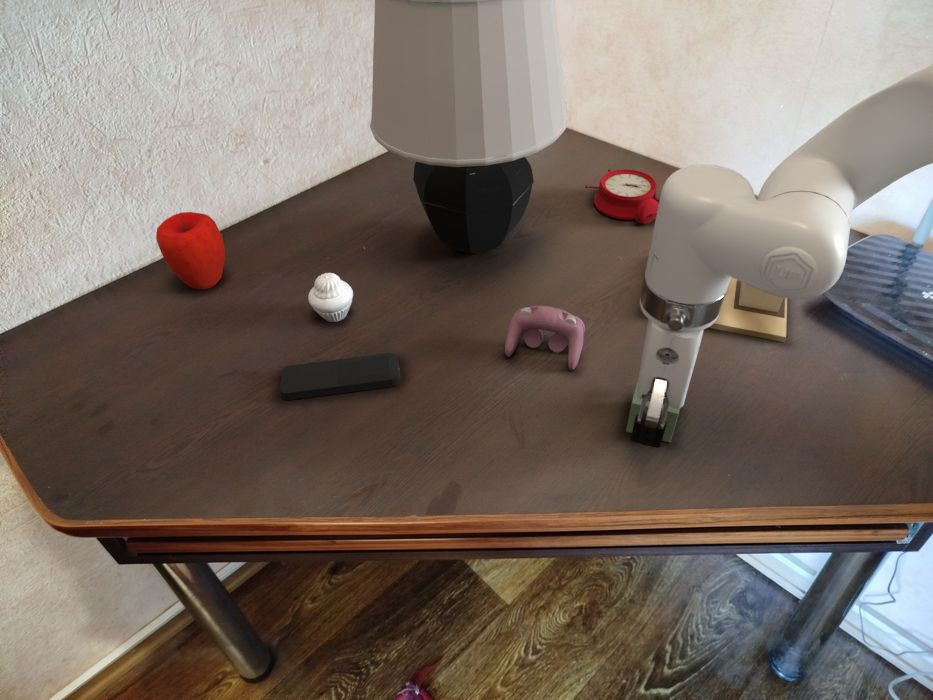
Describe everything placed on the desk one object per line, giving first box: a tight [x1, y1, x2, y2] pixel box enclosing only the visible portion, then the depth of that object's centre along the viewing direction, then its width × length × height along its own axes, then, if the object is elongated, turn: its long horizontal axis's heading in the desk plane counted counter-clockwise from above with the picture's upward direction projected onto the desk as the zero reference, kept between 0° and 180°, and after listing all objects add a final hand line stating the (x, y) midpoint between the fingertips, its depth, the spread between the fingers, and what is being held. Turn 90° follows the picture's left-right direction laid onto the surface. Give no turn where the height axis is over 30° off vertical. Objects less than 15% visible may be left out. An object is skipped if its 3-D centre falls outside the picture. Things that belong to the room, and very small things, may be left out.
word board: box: [642, 277, 788, 343], centre depth 89 cm, size 18×14×1 cm
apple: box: [155, 211, 226, 290], centre depth 94 cm, size 9×9×11 cm
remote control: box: [279, 352, 402, 401], centre depth 81 cm, size 5×2×15 cm
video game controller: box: [504, 305, 586, 371], centre depth 82 cm, size 10×5×7 cm, turn 71°
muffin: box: [307, 272, 354, 323], centre depth 88 cm, size 6×6×7 cm
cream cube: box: [739, 282, 783, 312], centre depth 86 cm, size 5×5×5 cm
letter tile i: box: [625, 375, 681, 443], centre depth 72 cm, size 5×5×5 cm
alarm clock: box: [584, 168, 660, 225], centre depth 106 cm, size 10×6×15 cm
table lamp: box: [369, 0, 570, 255], centre depth 88 cm, size 27×27×40 cm
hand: (652, 410), depth 73 cm, fingers open, 9 cm apart
